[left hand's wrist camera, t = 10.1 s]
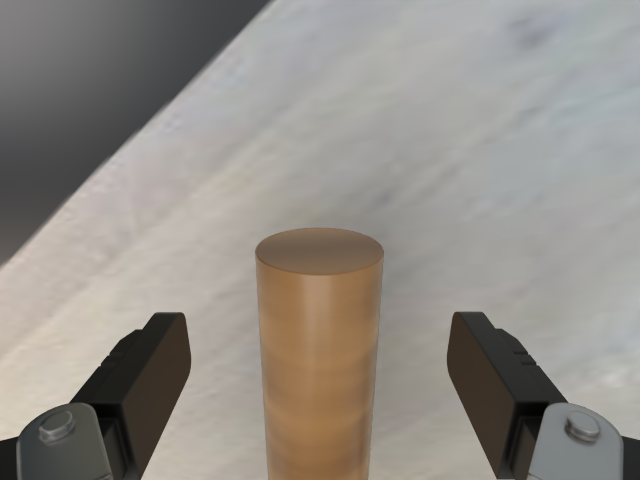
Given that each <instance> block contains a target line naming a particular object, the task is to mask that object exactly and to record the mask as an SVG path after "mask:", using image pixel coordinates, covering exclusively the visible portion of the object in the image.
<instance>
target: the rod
mask: <svg viewBox="0 0 640 480" xmlns="http://www.w3.org/2000/svg"><path fill="white" fill-rule="evenodd" d="M383 256H384V251H383V248H382V246H381V245H380V244H379V243H378V242H377V241H376V240H374V239H372V238H370V237H368V236H366V235H363V234H360V233H356V232H353V231H348V230H342V229H333V228H304V229H296V230H290V231H285V232H281V233H278V234H275V235H272V236H270V237H268V238H266V239H264V240H263V241H261V242H260V243H259V244H258V246H257V247H256V250H255V257H256V275H257V292H258V310H259V327H260V345H261V363H262V380H263V398H264V415H265V433H266V450H267V468H268V480H368V475H369V460H370V446H371V431H372V417H373V402H374V388H375V373H376V358H377V344H378V329H379V315H380V300H381V285H382V271H383Z"/></svg>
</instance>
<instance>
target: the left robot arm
mask: <svg viewBox="0 0 640 480" xmlns="http://www.w3.org/2000/svg"><path fill="white" fill-rule="evenodd" d="M447 367H448V372H449V376H450V378H451V380H452V382H453V385H454V387H455V389H456V391H457V393H458V395H459V398H460V400H461V402H462V404H463V406H464V409H465V411H466V413H467V415H468V417H469V419H470V422H471V424H472V426H473V428H474V430H475V432H476V435H477V437H478V439H479V441H480V443H481V445H482V448H483V450H484V452H485V454H486V456H487V459H488V461H489V463H490V465H491V467H492V469H493V472H494V474H495V476H496V478H497V479H515V480H640V440H637V439H632V438H628V437H624V436H621V435H620V434H619V432H618V431H617V429H616V428H615V427H614V426H613V425H612V424H611V423H610V422H609V421H607V420H606V419H605V418H604V417H602V416H600V415H599V414H597V413H595V412H594V411H592V410H590V409H587V408H585V407H582V406H579V405H576V404H571V403H568V401H567V400H566V399H565V398H564V397H563V395H562V394H561V393H560V392H559V390H558V389H557V388H556V387H555V385H554V384H553V383H552V382H551V380H550V379H549V378H548V377H547V375H546V374H545V373H544V372H543V370H542V369H541V368H540V367H539V365H536V362H535V361H534V359H533V358H532V357H531V356H530V355H528V352H527V351H526V349H525V348H524V347H523V346H522V344H521V343H520V342H519V341H518V339H516V338H515V337H513V336H512V335H510V334H509V333H507V332H506V331H504V330H503V329H495V328H494V326H493V325H492V324H491V322H490V321H489V320H488V318H487V317H486V316H485V314H484V313H483V312H455V313H454V315H453V318H452V324H451V331H450V338H449V345H448V352H447ZM190 368H191V352H190V345H189V339H188V332H187V325H186V319H185V316H184V314H183V313H181V312H157V313H155V314H154V315H153V316H152V317H151V319H150V320H149V321H148V323H147V324H146V325H145V327H144V328H143V329H142V330H134V331H133V332H132V333H130V334H129V335H127V336H126V337H124V338H123V339H121V340H120V341H119V342H118V343H117V345H116V346H115V347H114V348H113V349H112V351H111V352H110V355H109V356H107V357H106V358H105V359H104V361H103V362H102V363H101V366H99V367H98V368H97V369H96V370H95V372H94V373H93V374H92V375H91V377H90V378H89V379H88V380H87V381H86V383H85V384H84V385H83V386H82V388H81V389H80V390H79V391H78V393H77V394H76V395H75V396H74V397H73V399H72V400H71V401H70V402H69V404H64V405H61V406H58V407H55V408H53V409H50V410H48V411H46V412H45V413H43V414H41V415H40V416H38V417H36V418H35V419H34V420H33V421H31V422H30V423H29V424H28V425H27V426H26V427H25V428H24V429H23V431H22V432H21V434H20V435H19V436H18V437H14V438H10V439H6V440H2V441H0V480H141V478H142V476H143V473H144V471H145V469H146V467H147V465H148V463H149V461H150V458H151V456H152V454H153V452H154V450H155V448H156V446H157V443H158V441H159V439H160V437H161V435H162V433H163V430H164V428H165V426H166V424H167V422H168V420H169V418H170V415H171V413H172V411H173V409H174V407H175V405H176V403H177V400H178V398H179V396H180V394H181V392H182V390H183V387H184V385H185V383H186V381H187V379H188V376H189V373H190Z"/></svg>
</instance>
